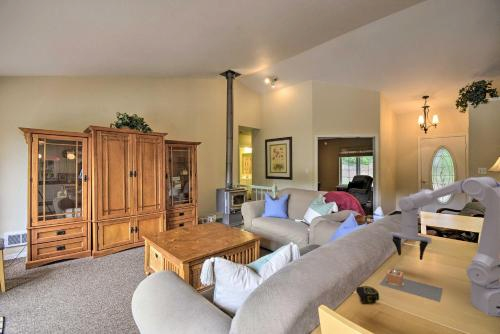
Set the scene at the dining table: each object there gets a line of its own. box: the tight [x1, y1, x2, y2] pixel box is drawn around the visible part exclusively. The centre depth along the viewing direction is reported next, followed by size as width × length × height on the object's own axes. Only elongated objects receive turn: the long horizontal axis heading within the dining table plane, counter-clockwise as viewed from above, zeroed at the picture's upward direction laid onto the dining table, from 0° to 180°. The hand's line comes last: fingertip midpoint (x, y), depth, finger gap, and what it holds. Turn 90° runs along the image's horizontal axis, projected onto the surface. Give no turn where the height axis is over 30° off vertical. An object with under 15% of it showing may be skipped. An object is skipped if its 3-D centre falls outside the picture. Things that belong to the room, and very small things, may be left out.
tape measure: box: [355, 285, 380, 304], centre depth 88 cm, size 7×7×4 cm
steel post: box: [391, 268, 399, 275], centre depth 98 cm, size 2×2×6 cm
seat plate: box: [379, 275, 444, 303], centre depth 94 cm, size 19×12×2 cm, turn 48°
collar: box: [385, 269, 404, 286], centre depth 98 cm, size 5×5×4 cm
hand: (410, 256), depth 102 cm, fingers open, 7 cm apart
